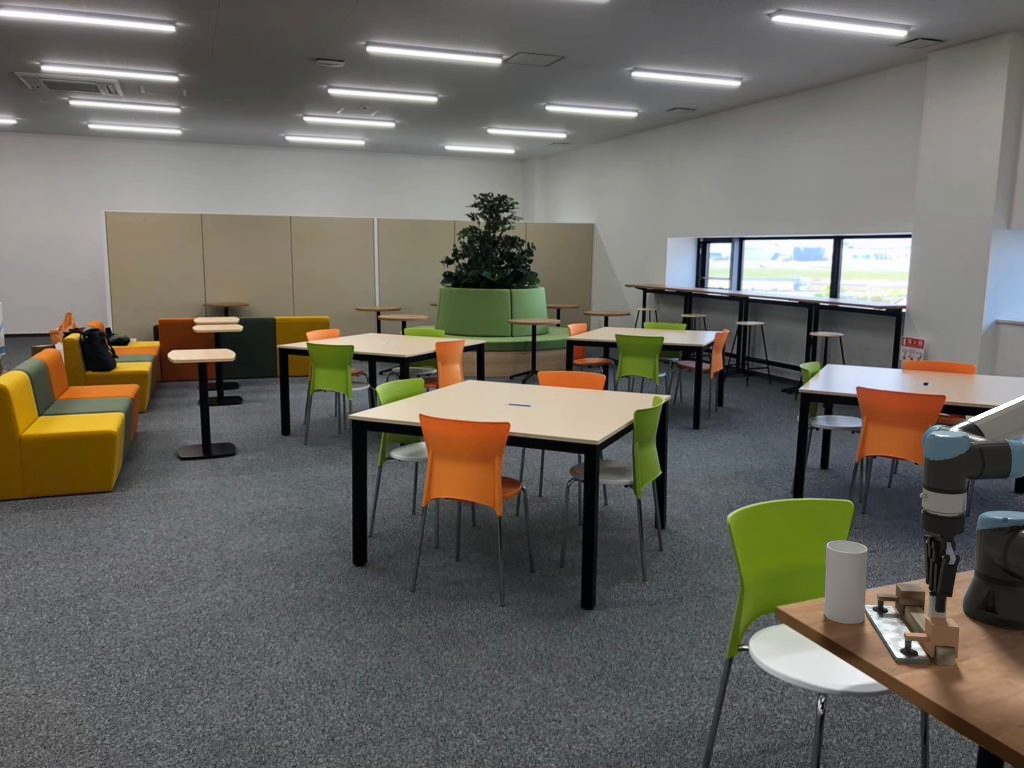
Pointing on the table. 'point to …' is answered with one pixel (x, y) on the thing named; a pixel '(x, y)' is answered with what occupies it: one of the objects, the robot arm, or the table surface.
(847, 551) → the cup
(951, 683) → the table surface
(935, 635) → the block
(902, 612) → the fixed leg
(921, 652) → the bolt strip
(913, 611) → the beam
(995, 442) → the robot arm
